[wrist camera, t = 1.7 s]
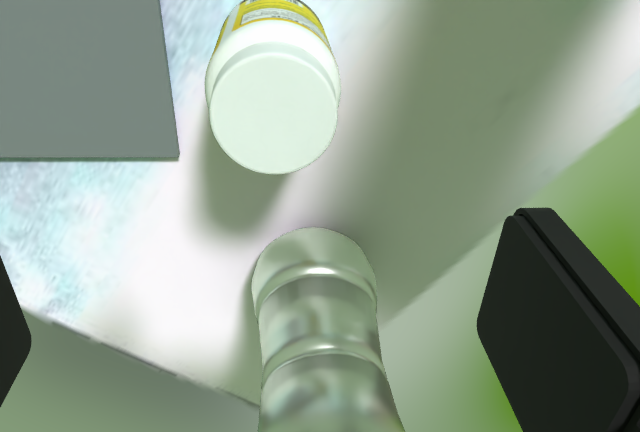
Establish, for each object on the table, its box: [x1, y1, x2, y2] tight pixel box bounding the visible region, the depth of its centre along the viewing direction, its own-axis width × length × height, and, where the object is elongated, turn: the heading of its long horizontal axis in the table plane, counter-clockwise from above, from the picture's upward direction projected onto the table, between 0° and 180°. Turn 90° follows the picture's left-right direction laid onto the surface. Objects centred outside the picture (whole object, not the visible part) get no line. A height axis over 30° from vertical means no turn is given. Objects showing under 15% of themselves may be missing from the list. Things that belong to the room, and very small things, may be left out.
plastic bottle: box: [251, 227, 405, 432], centre depth 21 cm, size 6×7×20 cm
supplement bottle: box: [205, 0, 341, 174], centre depth 19 cm, size 5×5×8 cm
